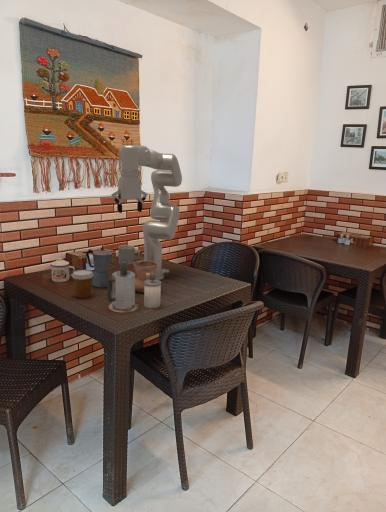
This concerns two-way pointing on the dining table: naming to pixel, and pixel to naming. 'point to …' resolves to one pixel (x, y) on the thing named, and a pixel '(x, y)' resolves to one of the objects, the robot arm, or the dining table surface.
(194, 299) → the dining table surface
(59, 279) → the teacup with lid
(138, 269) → the ceramic jug
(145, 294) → the cream press
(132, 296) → the steel press
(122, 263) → the plunger
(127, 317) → the dining table surface
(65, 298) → the dining table surface
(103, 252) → the moka pot
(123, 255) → the coffee mug
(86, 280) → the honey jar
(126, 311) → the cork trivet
